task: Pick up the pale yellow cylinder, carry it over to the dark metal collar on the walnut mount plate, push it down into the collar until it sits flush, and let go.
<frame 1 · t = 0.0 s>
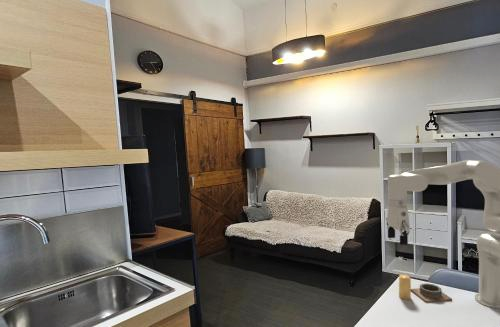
hand: (397, 241, 137), 31 cm above the table, tool pointing down, fingers open, 9 cm apart
pale yellow cylinder: (404, 297, 149), on the table
mount plate: (430, 295, 150), on the table
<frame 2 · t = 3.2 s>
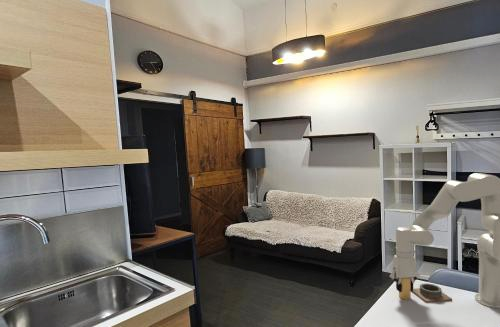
hand: (404, 290, 149), 3 cm above the table, tool pointing down, fingers closed on pale yellow cylinder, 5 cm apart
pale yellow cylinder: (404, 297, 149), on the table, touching gripper
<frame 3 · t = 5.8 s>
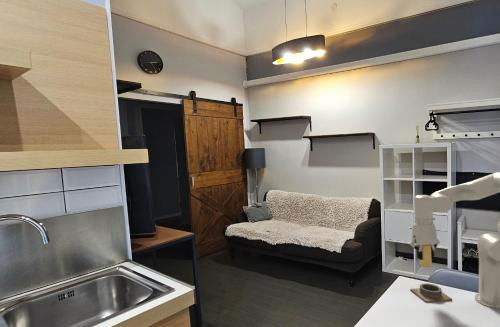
hand: (425, 258, 149), 19 cm above the table, tool pointing down, fingers closed on pale yellow cylinder, 5 cm apart
pale yellow cylinder: (425, 265, 149), point 15 cm above the table, touching gripper
when the fingers open (4 cm above the table, at t = 8.7 s): pale yellow cylinder stays where it is, resting on mount plate.
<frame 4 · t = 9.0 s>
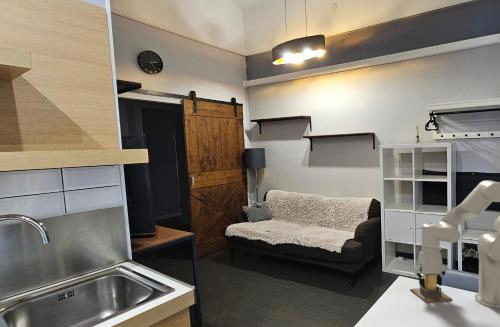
hand: (430, 285, 150), 5 cm above the table, tool pointing down, fingers open, 8 cm apart
pale yellow cylinder: (430, 293, 150), point 1 cm above the table, touching mount plate
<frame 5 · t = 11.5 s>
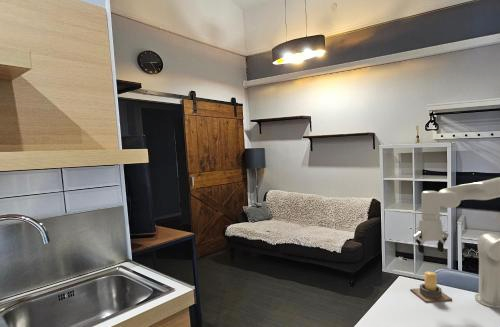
hand: (430, 251, 149), 22 cm above the table, tool pointing down, fingers open, 9 cm apart
nothing on the table moved.
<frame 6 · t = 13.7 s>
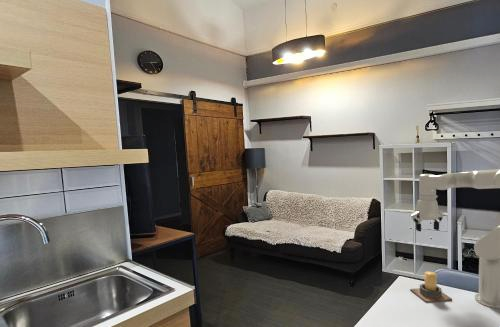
hand: (427, 230, 162), 28 cm above the table, tool pointing down, fingers open, 9 cm apart
nothing on the table moved.
at the end: pale yellow cylinder 0.1 cm off-centre on the mount plate, point 0.8 cm above the mount plate's base; pale yellow cylinder tilted 0°; the gripper is holding nothing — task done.
